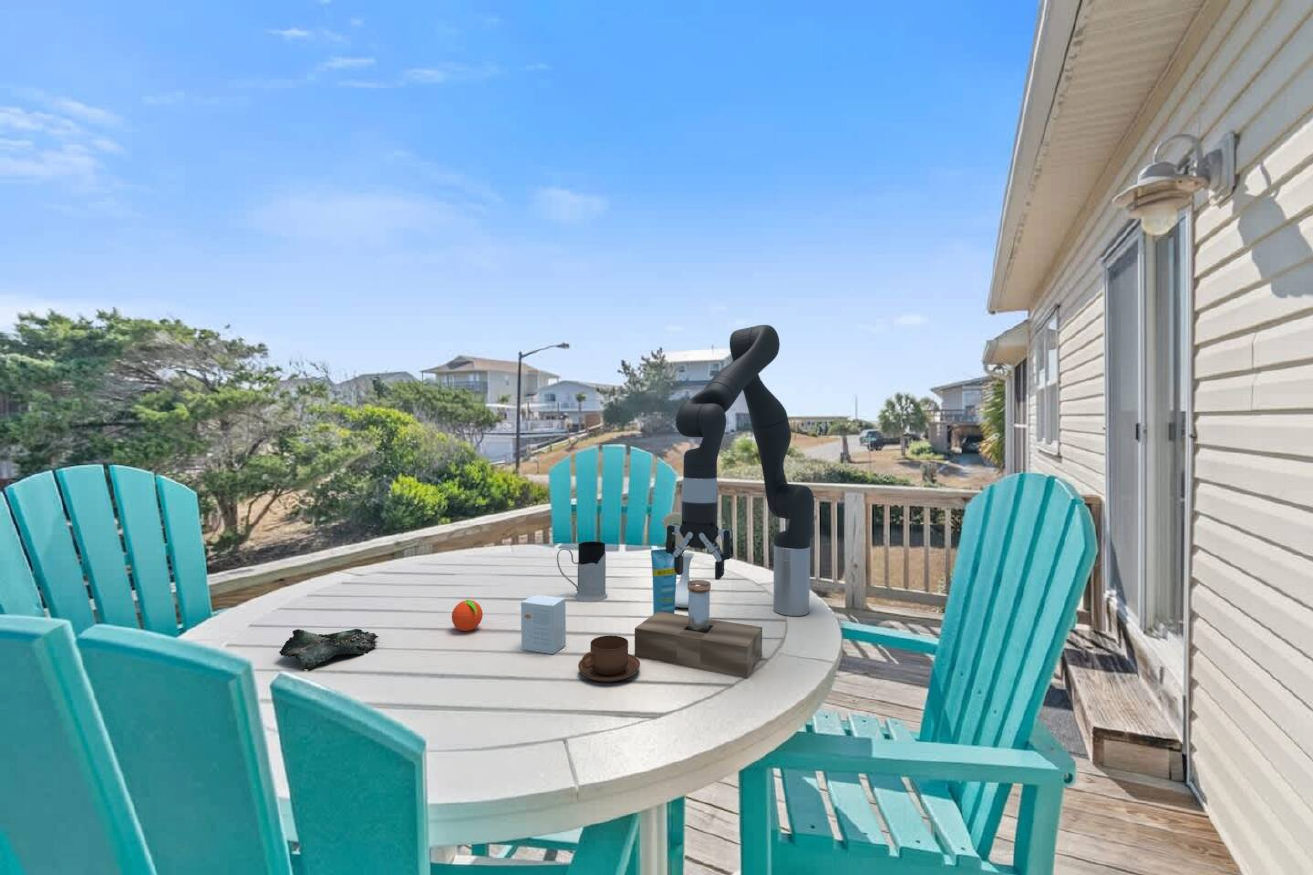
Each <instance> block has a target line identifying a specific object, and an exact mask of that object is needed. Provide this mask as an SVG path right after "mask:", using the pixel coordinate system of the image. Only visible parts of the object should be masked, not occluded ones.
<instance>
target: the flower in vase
mask: <svg viewBox="0 0 1313 875" xmlns="http://www.w3.org/2000/svg"><path fill="white" fill-rule="evenodd" d="M661 524H662V525H663V528H664V529H665V531H666V532H667V527H668V526H669V525H671V524H676V525H677V526H681V524H682V512H677V511H674V512H673V511H672V512H670V513H667V514H666V515H664V518H663V519H662V521H661ZM677 536H682V535H681V533H680V531H679V532H678V534H677V535H676V537H677ZM678 546H679V544H678V541H677V538H676V542H675V547H678ZM662 547H666V541H665V542H663V544H662ZM688 548H690V546H689V547H688ZM688 548H687V549H688ZM682 556H683V574H681V575H680V580H679V581H678V583H676V594H675V608H682V609H683V608H684V609H686V608H687V609H688V596H689V590H688V582H689V581H691V580H690V565H691V562H692V559H693V558H694V556H695V553H693V552H689V551H684V552H683V554H682Z"/></svg>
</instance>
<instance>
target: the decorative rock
mask: <svg viewBox="0 0 1313 875" xmlns="http://www.w3.org/2000/svg"><path fill="white" fill-rule="evenodd" d="M292 635H293V636H292V637H289V638H288V640H286V641H285V642H284V644H283V646H282V647H281V650H279V652H278V653H279V655H280V656H283V657H285V658H286V657H288V658H292V657H294V659H295V660H297V661H298V663H299V665H300V667H301V669H302V670H303V671H307V672H312V671H313V670H314V669H316V667H317V666H318V665H319V664H320V663H321V662H327V661H330V659H332V658H333V657H335V656H336V655H337V656H339V655H350V654H352V655H353V654H356V655H362V656H365V654H369V651H370V649H372V648H375V647H377V643H376V642H375V640H376V639H378V638H379V635H377V634H376V633H374V632H369V631H363V630H362V629H359V628H354V629H350V630H344V631H340V632H339V631H338V632H333V633H328V634H320V633H318V634H317V633H314V632H310V631H307V630H303V629H300V628H297V629H294V630H293V631H292Z"/></svg>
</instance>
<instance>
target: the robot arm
mask: <svg viewBox="0 0 1313 875" xmlns="http://www.w3.org/2000/svg"><path fill="white" fill-rule="evenodd" d="M780 345H781V344H780V337H779V334H778V332H777V330H776V328H774V327H773V326H772V325H770V324H759V325H754V326H750V327H744V328H740V329H736V330H734V331H733V332H732V333H731V334H730V336H729V351H730V355H731V359H732V362H731V363H729V364H728V365H726V366H724V367H723V368H722V369H720V370H719V371H718V372H717V373H716V374H715V375H714V376H713V377H712V378H711V379H710V381H709V382H708V384H706V386H705V387H704V388H703V389H702V390H701V391H699V392H697V393H696V394H695V395H693V396H692V397H690V398H689V399H687V400H686V401H685V402H684V403H683V404H682V405H681V406H680V407H679V409H678V410H677V412H676V416H675V427H676V429H677V431H678V433H679V434H680V435H681V436H683V437H686V438H702V440H701V442H700V445H699V446H697V447H694V448H690V449H688V450H686V451H685V452H684V455H683V472H682V473H683V474H682V477H683V478H682V486H681V494H680V495H681V496H680V497H681V513H682V524H681V526H677V525H676V524H671V525H669V526H668V527H667V531H666V538H665V542H666V546H665V549H666V550H665V551H666V553H670V554H672V555H673V556H674V570H675V572H676V574H677V576H681V574H683V556H682V554H683V552H686V550H687V549H688V547H689V546H690V547H689V548H691V549H695V548H697V549H700V550H701V549H702V550H705V549H707V550H708V552H709V553H710V554H711V555H712V556H713V557H714V559H715V562H714V569H715V570H714V580H717V581H719V580H720V579H722V577H723V576H724V574H725V561H726V560H727V561H728V560H730V559H732V558H733V557H734V540H733V539H734V537H733V529H732V528H727V529H719V525H718V519H719V518H718V514H719V512H718V506H719V505H718V502H719V500H718V499H719V498H718V497H719V485H718V459H719V458H718V457H719V454H720V453H719V452H720V449H721V444H722V441H723V438H724V434H725V432H726V427H727V415H726V412H728V411H729V410H730V409H731V407H732V406H733V405H734V403H735V402H736V400H737V399H738V397H739V396H740V394H741V393H742V392H743V395H744V398H745V404H746V407H747V410H748V415H749V419H750V423H751V428H752V431H753V436H754V440H755V444H756V447H757V451H758V456H759V460H760V464H761V465H760V466H761V469H762V475H763V483H764V484H763V485H764V491H765V496H766V497H765V498H766V503H767V506H768V509H769V511H770V513H771V514H772V515H773V516H774V517H776V518H780V519H785V520H789V522H788V527H787V528H786V529H785V530H782V531H779V532H776V533H775V534H774V536H773V594H772V595H773V597H772V598H773V599H772V601H773V602H772V603H773V604H772V605H773V606H772V608H773V611H774V612H775V613H777V614H780V615H783V616H790V617H801V616H802V617H803V616H806V615H808V614H810V595H811V594H810V593H811V592H810V590H811V588H810V586H811V585H810V584H811V581H810V580H811V578H810V577H811V569H810V568H811V540H812V536H813V531H814V530H813V529H814V516H815V515H814V514H815V498H814V497H815V496H814V494H813V491H812V489H811V488H810V487H809V486H807V485H804V484H803V485H802V484H793V483H788V481H787V479H786V475H785V474H786V473H785V468H784V467H785V466H784V464H785V459H786V455H787V453H788V450H789V447H790V444H791V440H792V431H791V426H790V421H789V417H788V414H787V413H788V412H787V410H786V408H785V407H784V405H783V404H782V403H781V401H780V400H779V399H778V398H777V397H776V396H775V394H773V393H772V392H771V391H770V390H769V388H767V386H766V385H765V384H764V383H763V381H762V379H761V377H760V375H759V374H760V373H761V372H762V371H763V370H764V369H765V368H766V367H767V366H769V365H770V364H771V363H772V362H773V361H774V360H775V359H776V358H777V356H778V355H779V351H780V347H781V346H780ZM679 531H680V533H681V535H680V536H682V538H683V539H682V541H681V542H680V543H679V544H678V545H679V546H677V547H678V548H675V547H676V546H675V542H676V539H677V536H678V535H677V534H678V532H679ZM676 535H677V536H676ZM718 537H720V539H721V540H722V541H723V551H722V549H721V546H720V545H719V543H718V542H717V540H716V539H717V538H718Z"/></svg>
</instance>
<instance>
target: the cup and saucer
mask: <svg viewBox="0 0 1313 875" xmlns="http://www.w3.org/2000/svg"><path fill="white" fill-rule="evenodd" d="M577 666H578V671H579V672H580V673H581V674H582V675H583V676H584V677H585V678H586V679H587V678H588V679H590V680H593V681H597V682H604V683H605V682H606V683H607V682H618V681H622V680H626V679H628V678H630V677H632V676H633V675H635V674H636V673H637V672H638V671H639V669H640V666H641V662H640V659H638V657H635V655H633V654H629V640H628V639H627V638H625V637H624V636H621V635H612V634H611V635H603V636H602V635H601V636H597V637H595V638H593V639H591V641H590V651H588V652H586V653H585V654H583V656H582V658H581V660H580V661H579V662H578V664H577Z"/></svg>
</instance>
